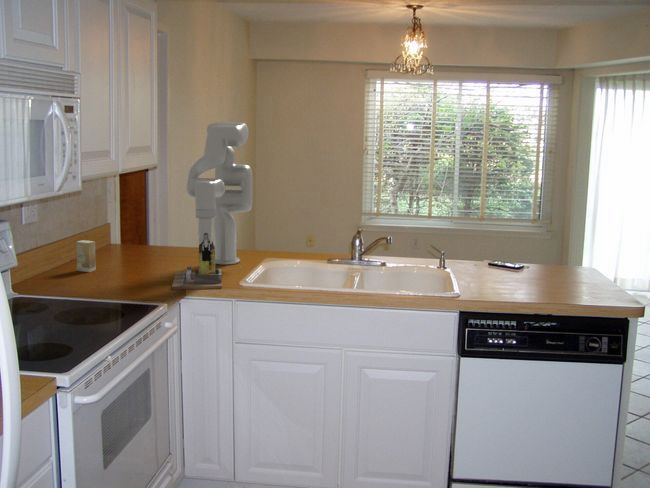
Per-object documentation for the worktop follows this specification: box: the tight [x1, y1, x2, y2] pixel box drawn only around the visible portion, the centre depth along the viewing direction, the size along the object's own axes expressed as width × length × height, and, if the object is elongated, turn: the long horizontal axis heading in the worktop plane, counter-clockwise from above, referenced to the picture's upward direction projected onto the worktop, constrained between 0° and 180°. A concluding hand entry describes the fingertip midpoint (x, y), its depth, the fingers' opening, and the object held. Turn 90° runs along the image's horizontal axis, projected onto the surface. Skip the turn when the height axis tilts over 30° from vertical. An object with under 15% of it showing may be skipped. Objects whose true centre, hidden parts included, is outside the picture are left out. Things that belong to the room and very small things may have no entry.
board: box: [171, 268, 223, 290], centre depth 262 cm, size 24×18×4 cm
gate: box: [186, 265, 192, 283], centre depth 259 cm, size 10×2×4 cm, turn 9°
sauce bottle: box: [198, 240, 216, 275], centre depth 259 cm, size 6×6×20 cm
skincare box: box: [75, 239, 97, 273], centre depth 276 cm, size 6×4×12 cm
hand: (206, 258), depth 259 cm, fingers open, 9 cm apart
